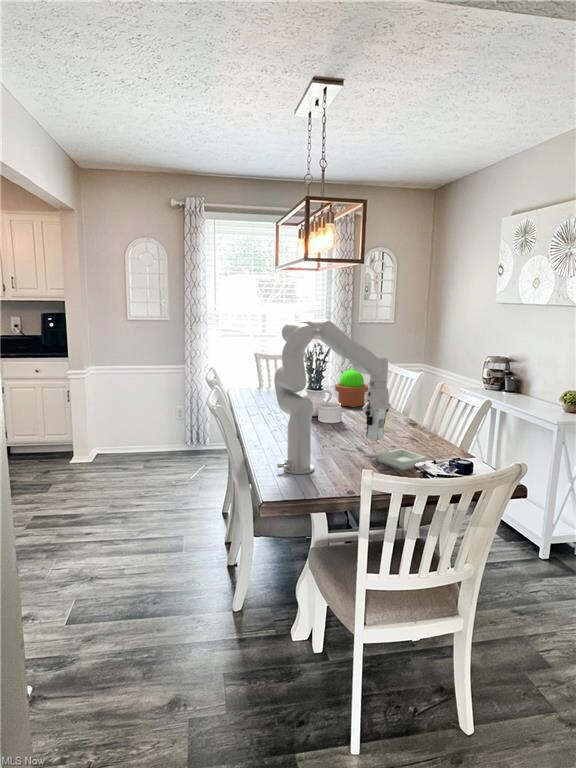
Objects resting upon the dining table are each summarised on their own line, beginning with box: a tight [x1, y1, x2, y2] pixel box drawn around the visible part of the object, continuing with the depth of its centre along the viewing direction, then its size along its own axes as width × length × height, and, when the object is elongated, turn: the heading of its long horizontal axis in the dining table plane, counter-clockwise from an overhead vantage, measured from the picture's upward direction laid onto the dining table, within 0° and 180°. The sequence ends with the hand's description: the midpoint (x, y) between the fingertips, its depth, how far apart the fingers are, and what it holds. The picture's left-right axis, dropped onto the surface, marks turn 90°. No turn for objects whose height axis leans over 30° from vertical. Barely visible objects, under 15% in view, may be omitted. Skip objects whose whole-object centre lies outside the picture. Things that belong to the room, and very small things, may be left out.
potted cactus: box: [334, 368, 369, 407], centre depth 321 cm, size 22×22×25 cm
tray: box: [378, 448, 427, 472], centre depth 205 cm, size 14×14×4 cm
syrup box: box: [365, 409, 386, 441], centre depth 213 cm, size 6×6×14 cm
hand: (375, 423), depth 213 cm, fingers closed on syrup box, 7 cm apart
